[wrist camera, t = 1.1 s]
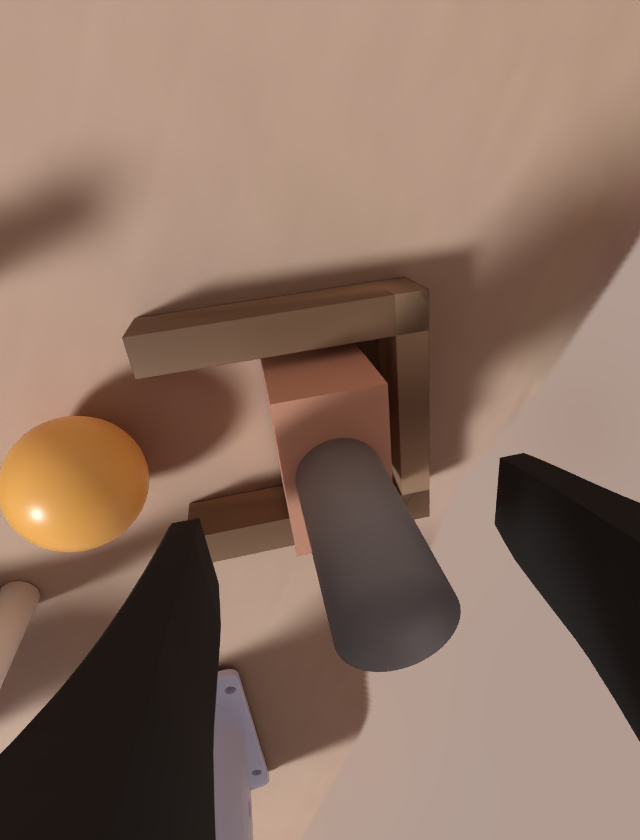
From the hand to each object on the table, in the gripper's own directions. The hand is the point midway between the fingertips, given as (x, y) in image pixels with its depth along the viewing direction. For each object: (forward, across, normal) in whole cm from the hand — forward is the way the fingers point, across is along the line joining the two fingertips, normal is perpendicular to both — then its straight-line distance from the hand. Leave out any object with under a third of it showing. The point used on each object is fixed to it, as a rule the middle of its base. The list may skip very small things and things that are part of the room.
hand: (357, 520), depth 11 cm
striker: (+6, 0, 0) cm, 6 cm away
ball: (+4, +8, 0) cm, 9 cm away
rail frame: (+6, +1, 0) cm, 6 cm away
